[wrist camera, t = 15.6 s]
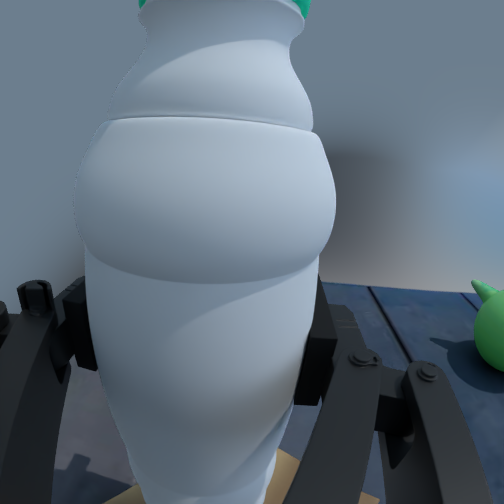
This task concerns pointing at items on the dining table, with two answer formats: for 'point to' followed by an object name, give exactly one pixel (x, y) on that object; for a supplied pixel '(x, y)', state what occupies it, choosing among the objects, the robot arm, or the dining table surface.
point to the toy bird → (490, 325)
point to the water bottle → (205, 246)
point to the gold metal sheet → (282, 477)
